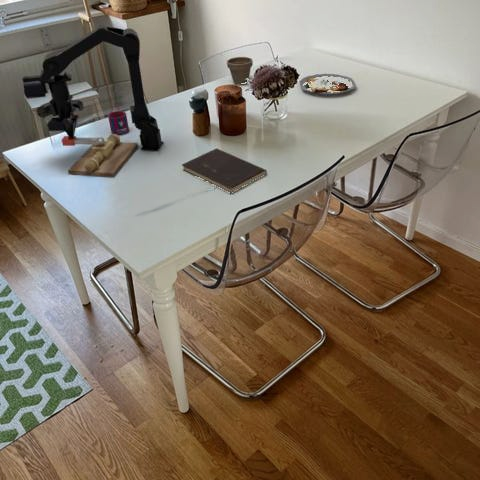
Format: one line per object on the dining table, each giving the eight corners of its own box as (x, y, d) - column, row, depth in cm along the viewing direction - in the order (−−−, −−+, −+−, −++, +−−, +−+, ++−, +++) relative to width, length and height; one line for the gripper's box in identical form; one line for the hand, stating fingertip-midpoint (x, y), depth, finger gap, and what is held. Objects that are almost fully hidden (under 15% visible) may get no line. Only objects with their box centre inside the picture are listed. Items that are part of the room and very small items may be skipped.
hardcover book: (230, 195, 155) (230, 188, 154) (182, 170, 169) (181, 164, 168) (266, 175, 164) (266, 168, 163) (218, 153, 178) (217, 147, 176)
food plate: (359, 97, 212) (359, 88, 210) (302, 99, 213) (302, 91, 211) (349, 77, 233) (349, 70, 231) (297, 80, 234) (297, 72, 232)
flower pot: (226, 79, 236) (225, 57, 230) (251, 77, 237) (250, 55, 231) (229, 88, 227) (228, 65, 221) (254, 86, 228) (254, 63, 222)
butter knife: (219, 189, 158) (214, 184, 160) (137, 219, 147) (133, 214, 149) (219, 190, 158) (214, 186, 160) (138, 220, 147) (134, 215, 149)
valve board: (138, 146, 184) (135, 130, 180) (113, 177, 167) (110, 160, 163) (97, 144, 187) (93, 128, 183) (68, 174, 170) (64, 157, 166)
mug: (114, 136, 192) (111, 119, 188) (106, 127, 199) (102, 110, 195) (131, 132, 194) (128, 115, 190) (122, 123, 201) (119, 106, 197)
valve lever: (106, 142, 174) (104, 136, 173) (103, 146, 172) (102, 140, 171) (66, 142, 176) (64, 136, 175) (63, 145, 174) (61, 139, 172)
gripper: (47, 84, 174) (58, 126, 184) (24, 106, 160) (38, 151, 169) (79, 83, 173) (89, 126, 183) (59, 106, 159) (71, 151, 168)
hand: (71, 138), depth 176 cm, fingers closed
